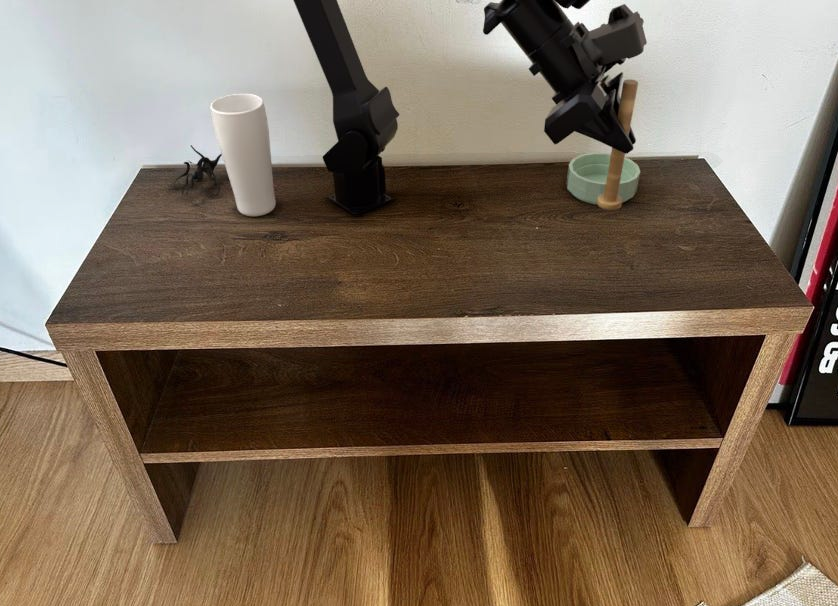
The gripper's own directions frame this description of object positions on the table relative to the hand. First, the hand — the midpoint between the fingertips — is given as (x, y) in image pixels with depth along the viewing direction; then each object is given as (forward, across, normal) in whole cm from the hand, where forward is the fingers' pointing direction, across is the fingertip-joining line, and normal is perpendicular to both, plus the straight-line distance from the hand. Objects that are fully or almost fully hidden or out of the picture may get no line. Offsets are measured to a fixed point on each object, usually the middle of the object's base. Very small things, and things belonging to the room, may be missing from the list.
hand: (631, 147), depth 81 cm
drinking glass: (-24, -7, +44) cm, 51 cm away
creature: (-32, -4, +52) cm, 61 cm away
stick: (+4, 0, +6) cm, 8 cm away
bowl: (+7, +15, +12) cm, 20 cm away
